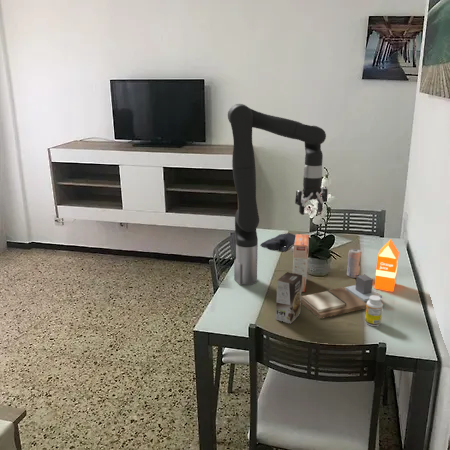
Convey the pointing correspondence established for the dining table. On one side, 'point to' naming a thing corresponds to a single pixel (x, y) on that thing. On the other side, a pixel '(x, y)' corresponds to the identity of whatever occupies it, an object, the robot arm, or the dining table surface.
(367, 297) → the grey cube on base
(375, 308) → the supplement bottle
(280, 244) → the dark slate chunk
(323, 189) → the robot arm
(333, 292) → the board
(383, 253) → the orange juice
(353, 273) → the energy drink
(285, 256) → the dining table surface
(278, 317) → the coffee box
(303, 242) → the cracker box
